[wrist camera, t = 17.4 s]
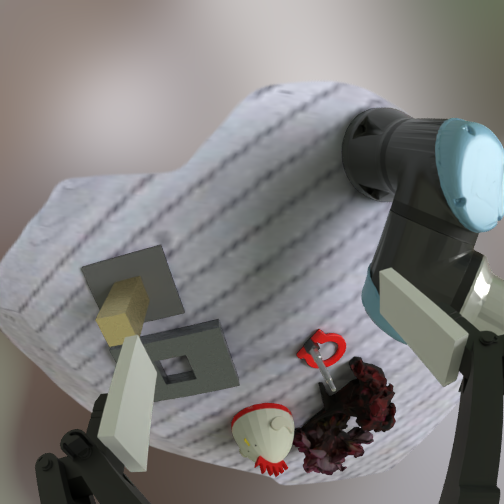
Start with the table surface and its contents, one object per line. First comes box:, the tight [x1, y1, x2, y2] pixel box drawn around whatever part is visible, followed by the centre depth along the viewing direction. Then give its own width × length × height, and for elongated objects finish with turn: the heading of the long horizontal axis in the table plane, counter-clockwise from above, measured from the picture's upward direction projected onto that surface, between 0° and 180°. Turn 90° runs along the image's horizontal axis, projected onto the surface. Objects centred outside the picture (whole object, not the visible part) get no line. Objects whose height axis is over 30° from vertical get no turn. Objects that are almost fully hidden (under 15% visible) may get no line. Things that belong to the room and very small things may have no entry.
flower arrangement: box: [292, 357, 396, 475], centre depth 59 cm, size 31×20×15 cm, turn 157°
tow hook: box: [296, 329, 346, 392], centre depth 52 cm, size 8×13×9 cm
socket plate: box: [110, 319, 240, 402], centre depth 53 cm, size 20×14×2 cm
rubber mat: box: [81, 245, 185, 322], centre depth 48 cm, size 14×12×1 cm
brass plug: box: [95, 276, 150, 347], centre depth 42 cm, size 4×4×11 cm
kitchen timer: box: [231, 403, 294, 477], centre depth 57 cm, size 14×14×15 cm
